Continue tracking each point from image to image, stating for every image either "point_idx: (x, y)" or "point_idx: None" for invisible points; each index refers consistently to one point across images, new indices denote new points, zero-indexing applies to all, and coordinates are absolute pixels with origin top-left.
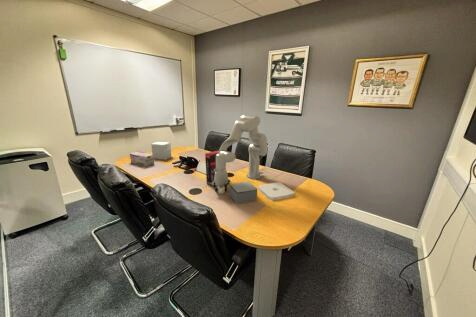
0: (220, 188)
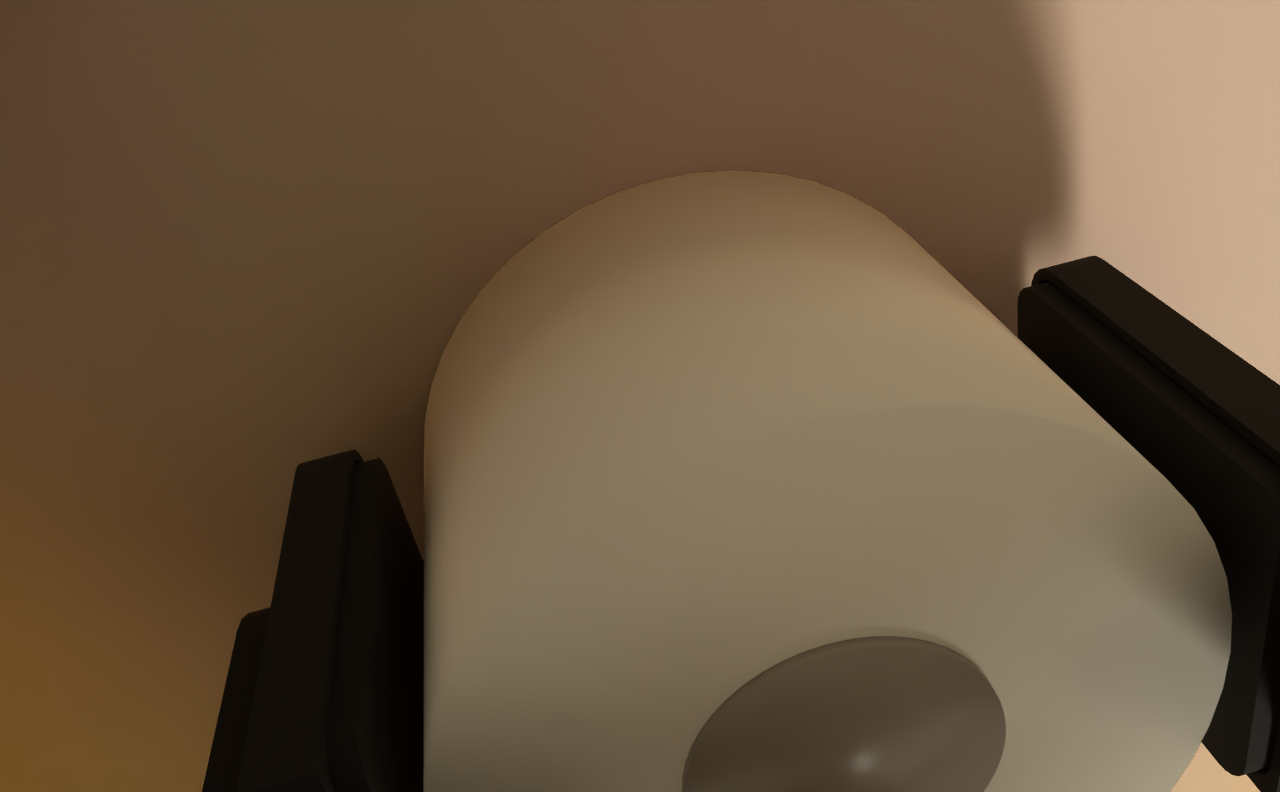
0: (989, 474)
